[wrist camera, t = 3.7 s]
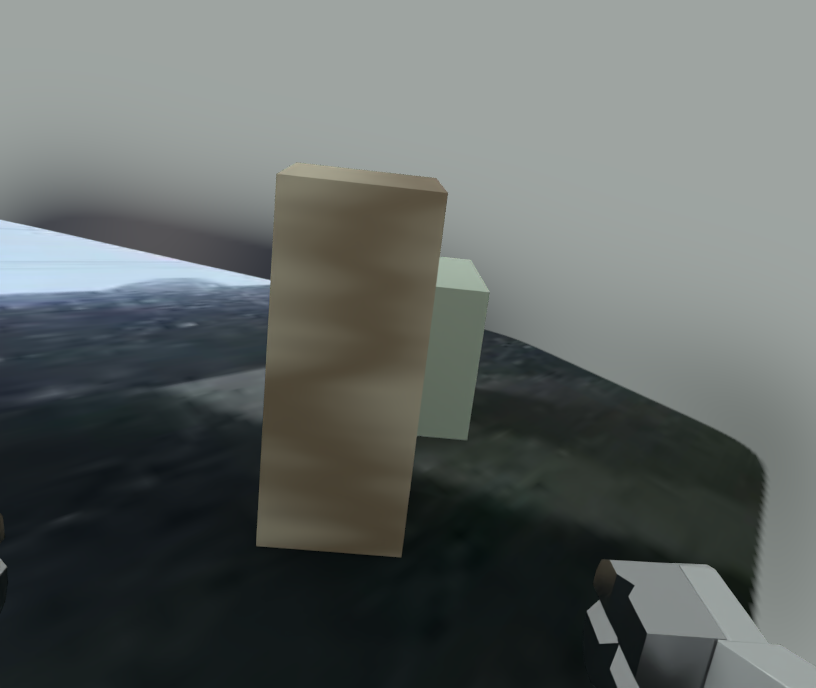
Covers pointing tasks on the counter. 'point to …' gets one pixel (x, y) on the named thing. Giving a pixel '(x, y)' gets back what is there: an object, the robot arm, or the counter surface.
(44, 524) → the counter surface
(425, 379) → the sage block
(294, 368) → the maple pillar
